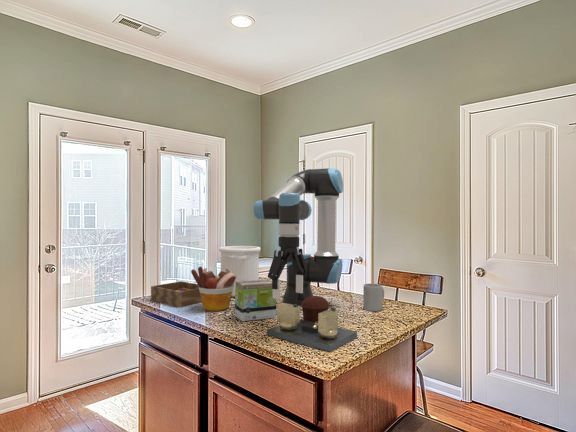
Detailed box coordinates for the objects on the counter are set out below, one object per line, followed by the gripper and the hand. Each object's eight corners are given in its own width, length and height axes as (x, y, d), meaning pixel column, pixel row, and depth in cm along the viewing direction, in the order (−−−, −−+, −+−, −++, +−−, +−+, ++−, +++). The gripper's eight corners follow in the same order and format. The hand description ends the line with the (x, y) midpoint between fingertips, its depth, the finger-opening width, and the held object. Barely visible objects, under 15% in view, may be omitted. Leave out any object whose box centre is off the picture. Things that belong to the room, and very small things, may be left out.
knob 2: (329, 340, 119) (330, 313, 119) (314, 336, 123) (314, 310, 123) (342, 334, 126) (342, 309, 126) (326, 331, 129) (327, 306, 129)
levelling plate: (266, 335, 131) (266, 323, 131) (296, 323, 146) (296, 312, 146) (330, 351, 116) (330, 338, 116) (356, 337, 130) (357, 325, 130)
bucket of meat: (220, 301, 182) (221, 261, 182) (243, 307, 171) (243, 264, 171) (185, 309, 167) (185, 265, 167) (207, 316, 156) (208, 268, 156)
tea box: (242, 322, 147) (243, 285, 147) (234, 316, 156) (234, 281, 156) (277, 318, 154) (277, 282, 154) (267, 312, 163) (267, 278, 163)
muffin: (308, 327, 141) (308, 300, 141) (295, 319, 152) (296, 295, 152) (335, 323, 146) (335, 298, 146) (321, 316, 156) (321, 292, 156)
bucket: (258, 299, 188) (258, 249, 188) (214, 298, 188) (214, 249, 188) (262, 289, 214) (262, 245, 214) (223, 288, 214) (223, 245, 214)
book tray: (150, 300, 184) (151, 286, 184) (181, 294, 198) (181, 281, 198) (179, 307, 170) (179, 292, 170) (210, 300, 184) (210, 286, 184)
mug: (374, 312, 164) (374, 287, 164) (359, 308, 170) (359, 284, 170) (390, 308, 171) (391, 284, 171) (375, 304, 178) (376, 282, 178)
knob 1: (274, 327, 133) (274, 303, 133) (284, 323, 138) (284, 300, 138) (292, 331, 128) (292, 306, 128) (302, 327, 133) (302, 303, 133)
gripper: (275, 237, 121) (274, 302, 121) (316, 235, 141) (316, 291, 140) (257, 236, 125) (256, 299, 125) (300, 234, 145) (299, 289, 145)
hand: (288, 295), depth 133 cm, fingers open, 13 cm apart
